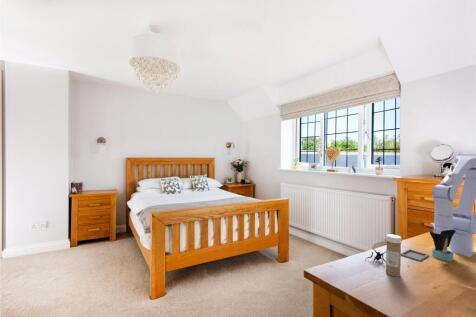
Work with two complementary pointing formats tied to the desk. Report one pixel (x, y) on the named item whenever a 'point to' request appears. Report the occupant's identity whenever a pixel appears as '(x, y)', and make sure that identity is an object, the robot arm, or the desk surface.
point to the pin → (444, 248)
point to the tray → (414, 255)
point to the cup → (443, 255)
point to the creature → (377, 257)
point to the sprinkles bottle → (393, 254)
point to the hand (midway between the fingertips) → (442, 248)
